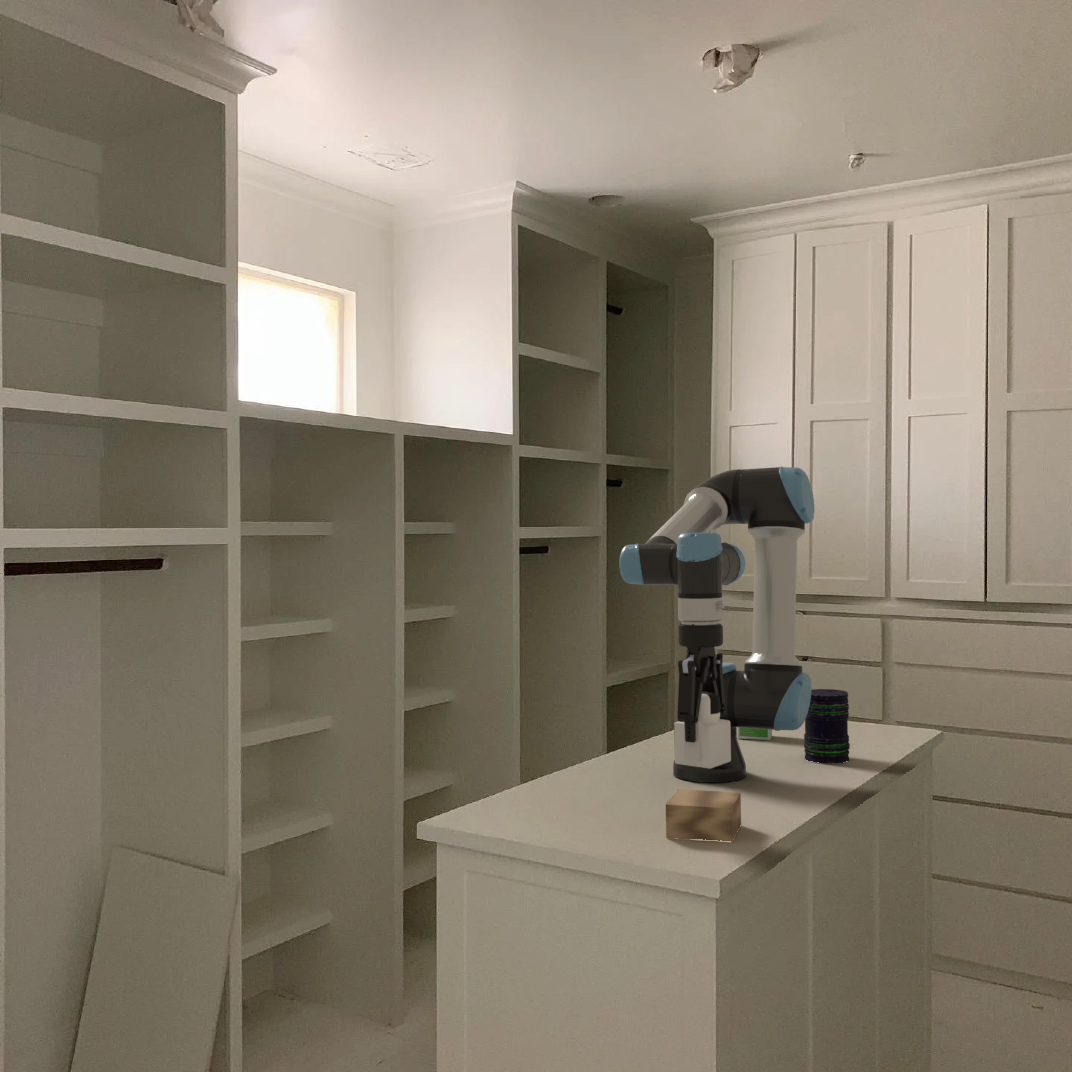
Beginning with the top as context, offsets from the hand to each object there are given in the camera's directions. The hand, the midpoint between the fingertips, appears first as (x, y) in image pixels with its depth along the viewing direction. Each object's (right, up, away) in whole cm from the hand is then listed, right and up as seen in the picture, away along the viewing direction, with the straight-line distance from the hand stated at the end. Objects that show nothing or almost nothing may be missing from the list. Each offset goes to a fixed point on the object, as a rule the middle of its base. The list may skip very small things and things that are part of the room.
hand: (702, 756), depth 183 cm
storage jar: (+36, -12, +56) cm, 67 cm away
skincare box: (+26, -12, +82) cm, 87 cm away
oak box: (0, -13, 0) cm, 13 cm away
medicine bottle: (0, -1, 0) cm, 1 cm away
